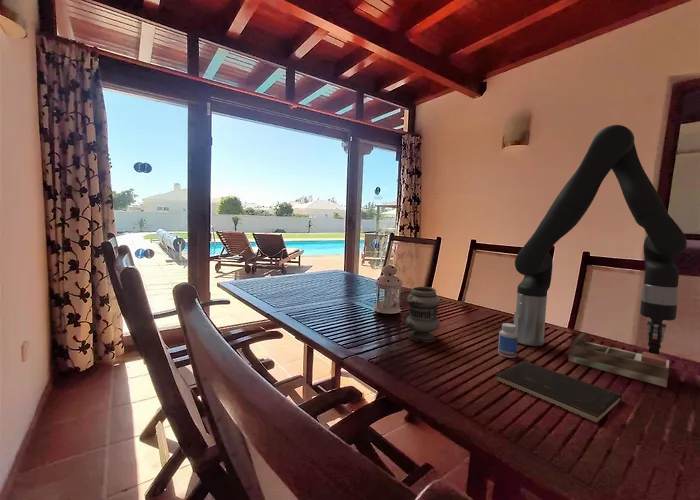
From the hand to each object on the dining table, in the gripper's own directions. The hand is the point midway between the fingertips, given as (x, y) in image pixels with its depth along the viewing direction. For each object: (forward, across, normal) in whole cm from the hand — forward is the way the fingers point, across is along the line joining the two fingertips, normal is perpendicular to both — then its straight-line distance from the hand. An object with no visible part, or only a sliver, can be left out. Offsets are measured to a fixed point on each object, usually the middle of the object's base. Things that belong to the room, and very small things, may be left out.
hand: (653, 359), depth 96 cm
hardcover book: (+4, -33, +17) cm, 37 cm away
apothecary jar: (+4, -25, +61) cm, 66 cm away
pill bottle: (+4, -18, +34) cm, 38 cm away
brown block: (+2, -5, 0) cm, 5 cm away
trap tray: (+4, 0, +8) cm, 8 cm away
